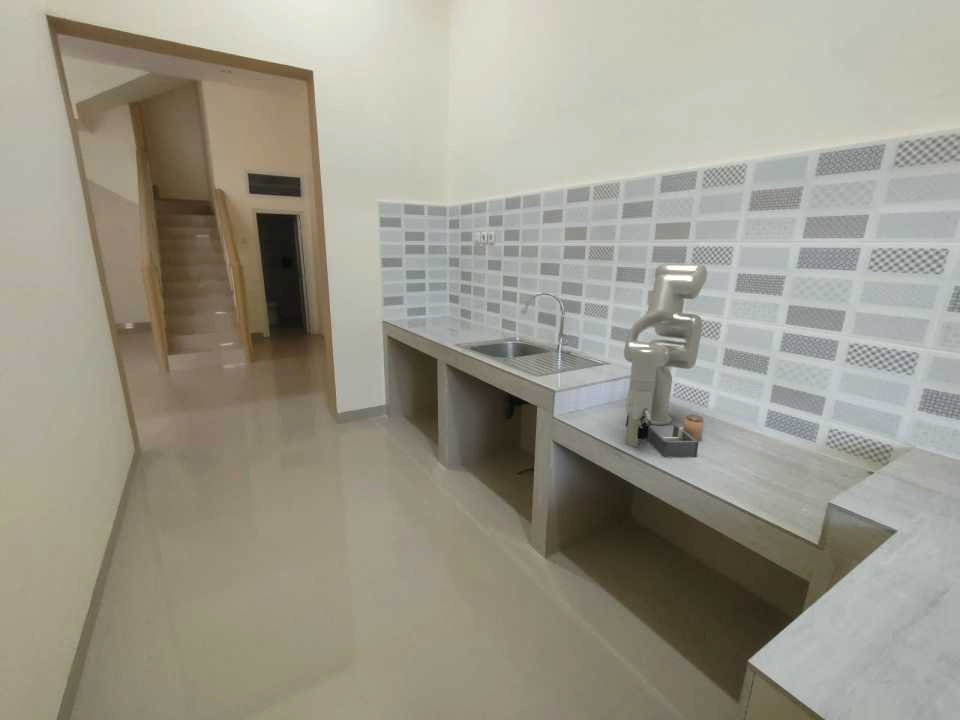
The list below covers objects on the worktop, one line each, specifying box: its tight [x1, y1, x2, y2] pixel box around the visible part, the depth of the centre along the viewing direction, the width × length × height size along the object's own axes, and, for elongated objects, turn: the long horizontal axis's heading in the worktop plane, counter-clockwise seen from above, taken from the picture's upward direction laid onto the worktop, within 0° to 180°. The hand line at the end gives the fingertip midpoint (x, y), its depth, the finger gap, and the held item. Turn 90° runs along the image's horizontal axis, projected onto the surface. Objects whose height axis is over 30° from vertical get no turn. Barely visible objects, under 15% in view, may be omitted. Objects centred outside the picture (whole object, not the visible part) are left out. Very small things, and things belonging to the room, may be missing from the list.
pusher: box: [662, 427, 684, 441], centre depth 140 cm, size 1×8×6 cm, turn 93°
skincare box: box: [624, 411, 646, 448], centre depth 141 cm, size 6×4×12 cm
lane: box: [645, 424, 700, 458], centre depth 139 cm, size 14×11×5 cm
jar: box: [682, 414, 705, 442], centre depth 146 cm, size 6×6×8 cm
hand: (636, 432), depth 141 cm, fingers open, 9 cm apart
